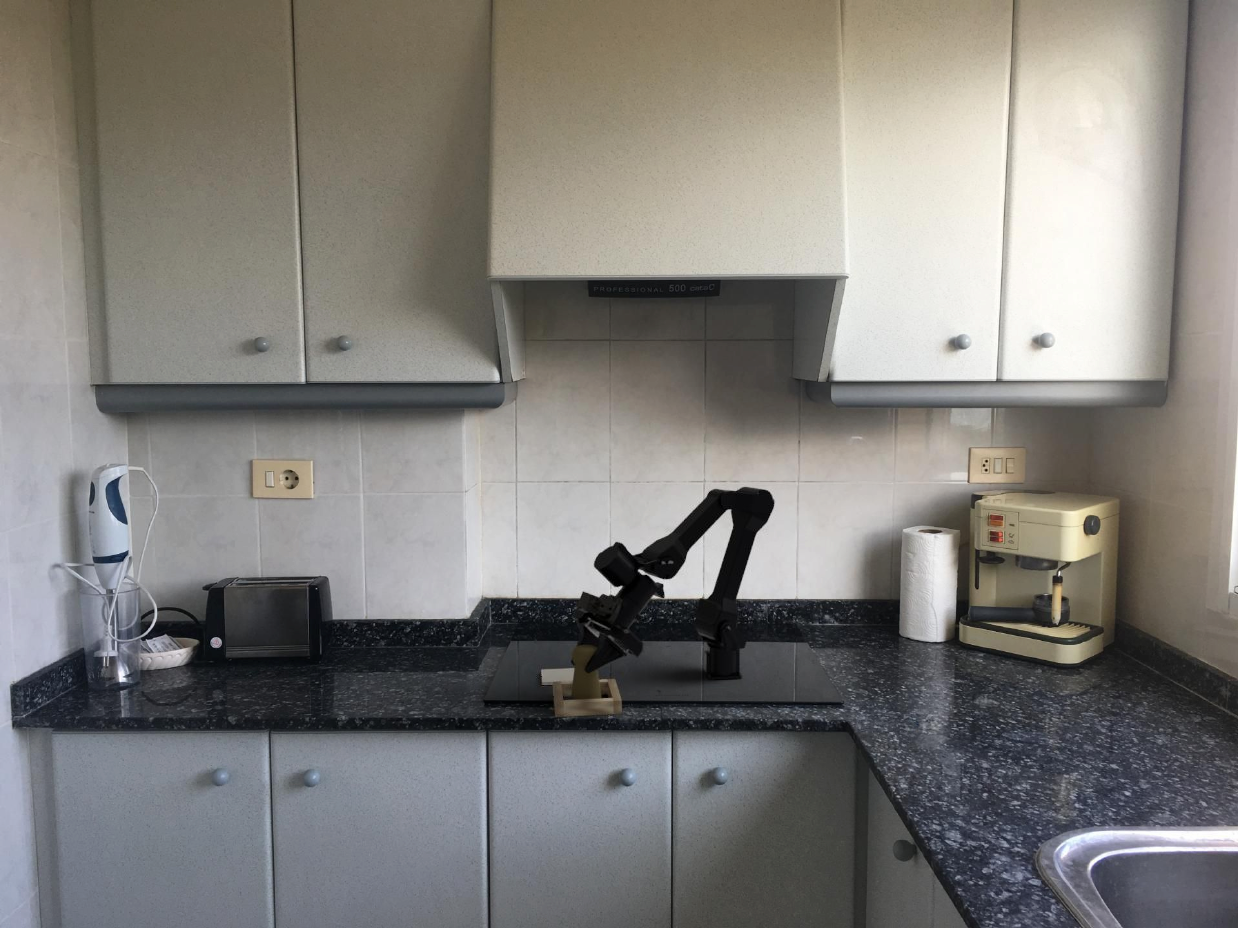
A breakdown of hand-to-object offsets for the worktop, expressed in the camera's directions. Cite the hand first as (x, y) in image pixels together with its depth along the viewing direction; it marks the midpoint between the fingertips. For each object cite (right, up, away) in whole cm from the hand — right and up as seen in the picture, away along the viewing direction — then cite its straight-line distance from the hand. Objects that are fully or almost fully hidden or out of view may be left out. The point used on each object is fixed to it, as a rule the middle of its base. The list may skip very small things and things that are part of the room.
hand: (579, 667), depth 167 cm
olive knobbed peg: (+1, -7, +1) cm, 7 cm away
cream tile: (-4, -6, +16) cm, 17 cm away
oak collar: (+1, -7, +1) cm, 7 cm away
